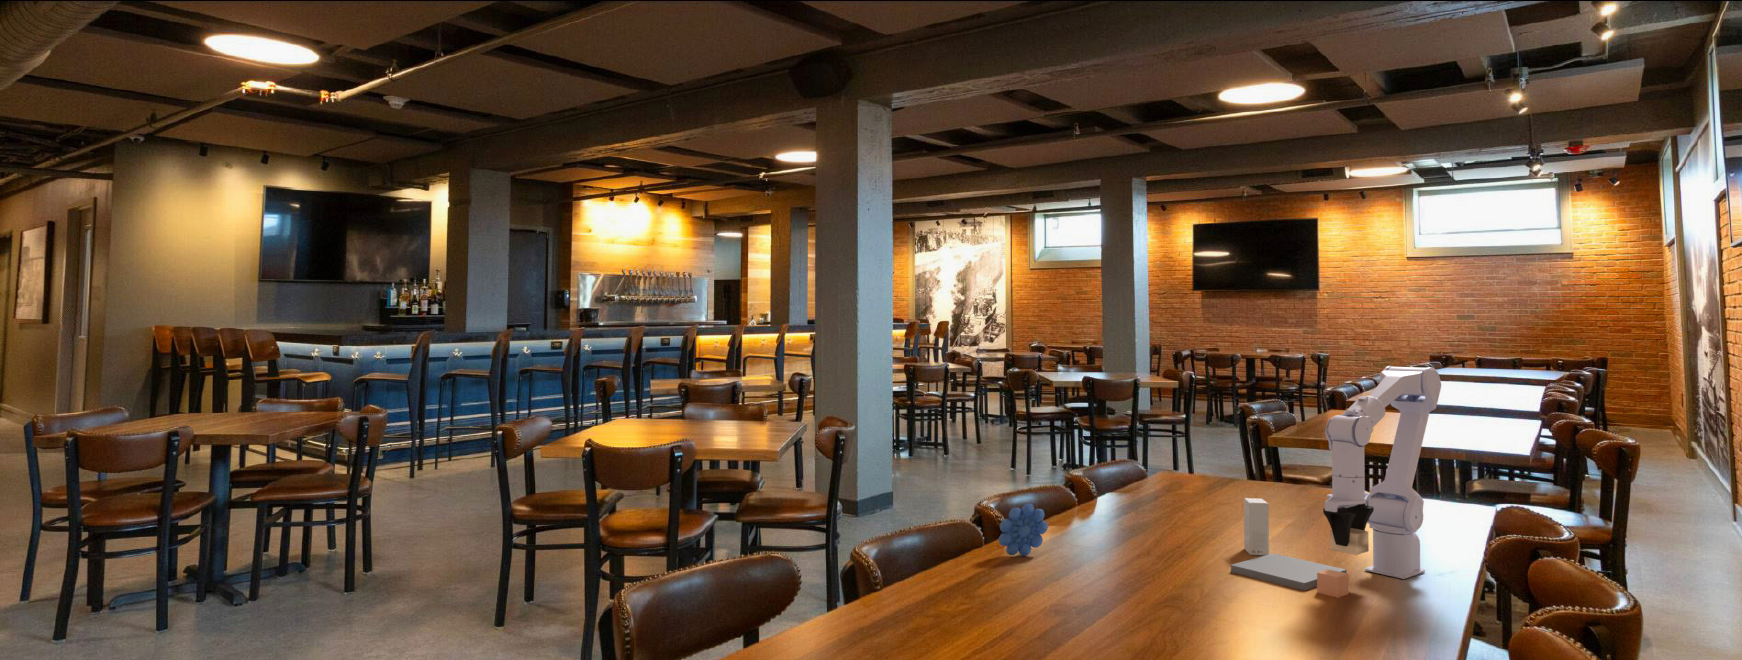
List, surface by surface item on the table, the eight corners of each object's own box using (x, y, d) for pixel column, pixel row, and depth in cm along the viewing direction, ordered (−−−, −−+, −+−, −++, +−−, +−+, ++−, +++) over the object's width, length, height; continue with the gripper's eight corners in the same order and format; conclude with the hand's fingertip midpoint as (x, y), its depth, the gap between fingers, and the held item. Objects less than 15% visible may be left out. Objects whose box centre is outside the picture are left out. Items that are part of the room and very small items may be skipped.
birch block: (1342, 546, 176) (1342, 526, 176) (1368, 551, 172) (1368, 531, 172) (1330, 549, 173) (1330, 530, 173) (1356, 555, 169) (1356, 534, 169)
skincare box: (1269, 556, 195) (1269, 503, 195) (1249, 555, 195) (1249, 502, 195) (1262, 549, 201) (1262, 498, 200) (1243, 548, 201) (1243, 497, 201)
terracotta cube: (1328, 589, 170) (1327, 569, 170) (1348, 594, 167) (1348, 573, 167) (1317, 592, 168) (1317, 572, 168) (1337, 598, 165) (1337, 577, 165)
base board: (1273, 559, 191) (1273, 553, 191) (1346, 576, 178) (1346, 569, 178) (1230, 571, 182) (1230, 564, 182) (1304, 590, 169) (1304, 583, 169)
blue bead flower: (1041, 549, 202) (1041, 499, 202) (1051, 557, 195) (1051, 504, 195) (993, 552, 200) (993, 500, 200) (1002, 560, 194) (1001, 506, 194)
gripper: (1346, 469, 180) (1346, 534, 180) (1309, 476, 172) (1309, 544, 172) (1381, 473, 174) (1382, 540, 174) (1345, 481, 166) (1346, 551, 166)
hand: (1348, 543), depth 172 cm, fingers closed on birch block, 5 cm apart
